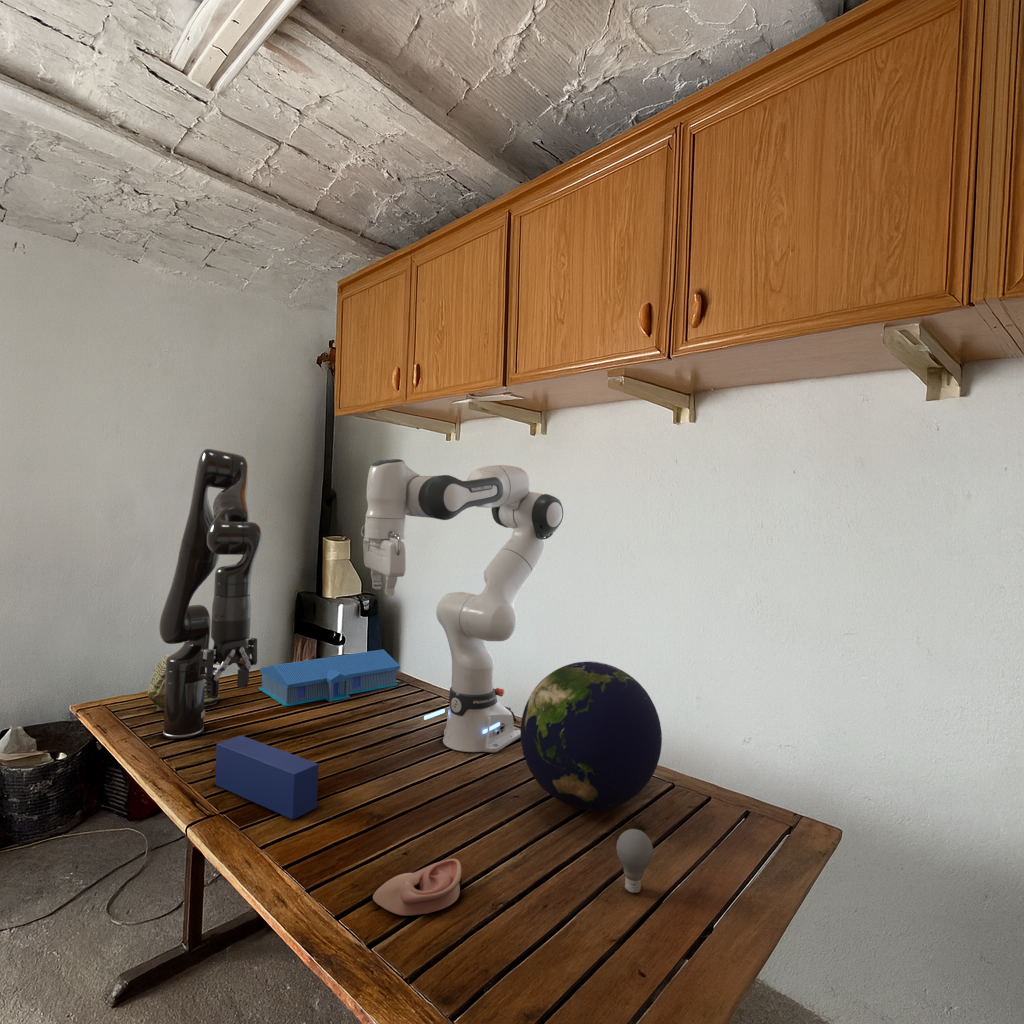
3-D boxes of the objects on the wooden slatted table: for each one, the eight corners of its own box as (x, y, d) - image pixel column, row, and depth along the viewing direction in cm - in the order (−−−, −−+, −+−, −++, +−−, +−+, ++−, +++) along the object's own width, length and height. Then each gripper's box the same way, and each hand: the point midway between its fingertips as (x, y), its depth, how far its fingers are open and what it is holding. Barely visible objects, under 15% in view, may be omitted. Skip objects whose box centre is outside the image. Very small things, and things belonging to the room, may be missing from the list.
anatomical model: (365, 883, 98) (393, 844, 109) (364, 909, 98) (392, 867, 109) (447, 898, 95) (468, 857, 106) (446, 924, 95) (467, 880, 106)
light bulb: (610, 879, 108) (613, 822, 108) (644, 879, 109) (647, 822, 109) (619, 902, 102) (622, 840, 102) (655, 901, 103) (658, 840, 103)
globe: (495, 817, 128) (501, 670, 127) (544, 763, 155) (549, 641, 155) (643, 855, 116) (651, 693, 116) (668, 789, 144) (674, 658, 144)
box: (214, 784, 137) (216, 743, 137) (240, 775, 142) (241, 735, 142) (292, 819, 124) (294, 774, 124) (317, 807, 129) (318, 763, 129)
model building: (289, 709, 186) (291, 675, 185) (258, 688, 204) (259, 657, 204) (403, 687, 212) (405, 657, 212) (366, 670, 230) (368, 643, 230)
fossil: (144, 707, 182) (145, 655, 182) (212, 696, 194) (213, 647, 194) (151, 716, 175) (153, 662, 175) (221, 703, 188) (223, 653, 188)
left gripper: (220, 623, 125) (216, 704, 126) (269, 612, 139) (265, 685, 139) (190, 619, 128) (187, 699, 128) (241, 608, 141) (237, 681, 142)
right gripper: (414, 534, 135) (411, 598, 135) (385, 528, 153) (383, 585, 153) (385, 533, 132) (382, 600, 132) (359, 528, 150) (357, 586, 150)
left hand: (228, 692), depth 134 cm, fingers open, 8 cm apart
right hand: (382, 592), depth 143 cm, fingers open, 8 cm apart
